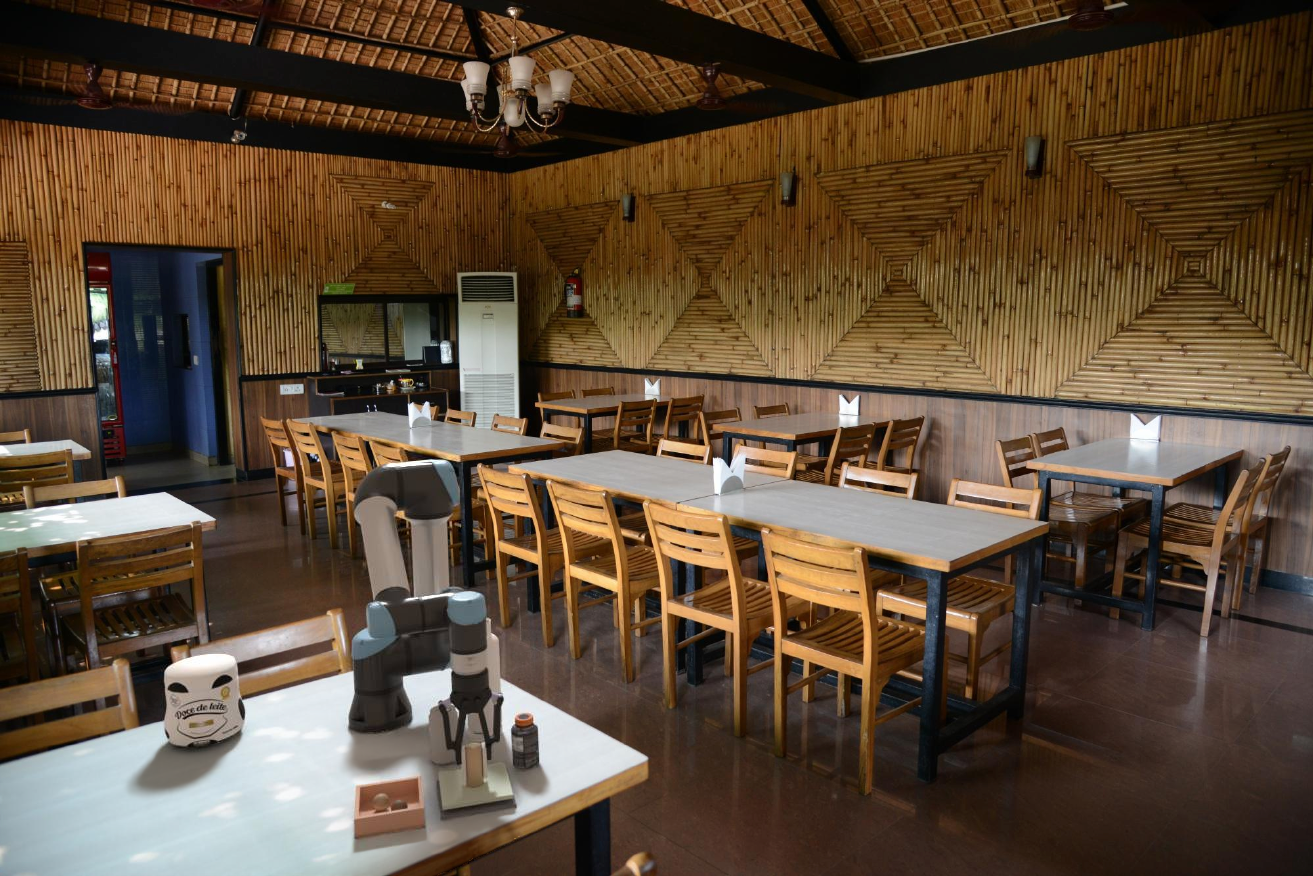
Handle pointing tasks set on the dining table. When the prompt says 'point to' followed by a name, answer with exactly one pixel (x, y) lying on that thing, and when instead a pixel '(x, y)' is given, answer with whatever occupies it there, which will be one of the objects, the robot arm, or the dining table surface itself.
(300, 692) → the dining table surface
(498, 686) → the bottle
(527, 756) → the pill bottle
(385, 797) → the ball beech
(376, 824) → the dish
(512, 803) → the mat
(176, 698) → the doce de leite tub
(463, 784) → the lid
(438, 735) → the beverage can
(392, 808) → the ball walnut
